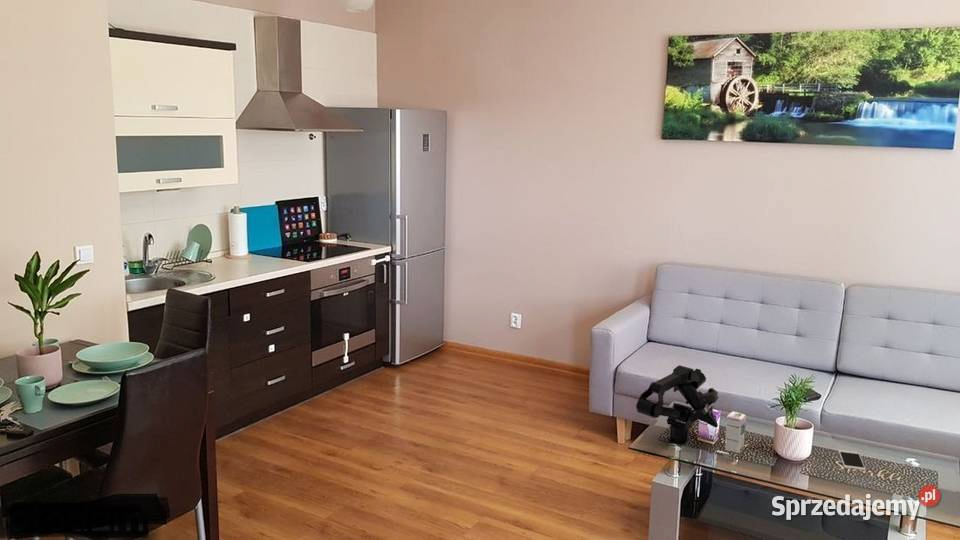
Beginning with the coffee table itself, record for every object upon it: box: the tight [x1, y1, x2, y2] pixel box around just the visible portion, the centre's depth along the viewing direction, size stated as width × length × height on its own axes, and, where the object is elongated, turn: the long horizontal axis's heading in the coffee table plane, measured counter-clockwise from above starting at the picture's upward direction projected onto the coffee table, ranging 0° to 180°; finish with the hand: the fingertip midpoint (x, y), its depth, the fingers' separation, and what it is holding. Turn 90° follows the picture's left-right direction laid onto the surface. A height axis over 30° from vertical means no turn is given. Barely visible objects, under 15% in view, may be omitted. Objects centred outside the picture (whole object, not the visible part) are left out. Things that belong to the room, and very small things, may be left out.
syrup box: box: [724, 411, 747, 454], centre depth 294 cm, size 6×6×14 cm
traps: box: [721, 453, 736, 462], centre depth 294 cm, size 6×23×1 cm, turn 124°
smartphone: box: [838, 449, 866, 471], centre depth 287 cm, size 7×15×1 cm, turn 163°
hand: (717, 426), depth 298 cm, fingers closed
